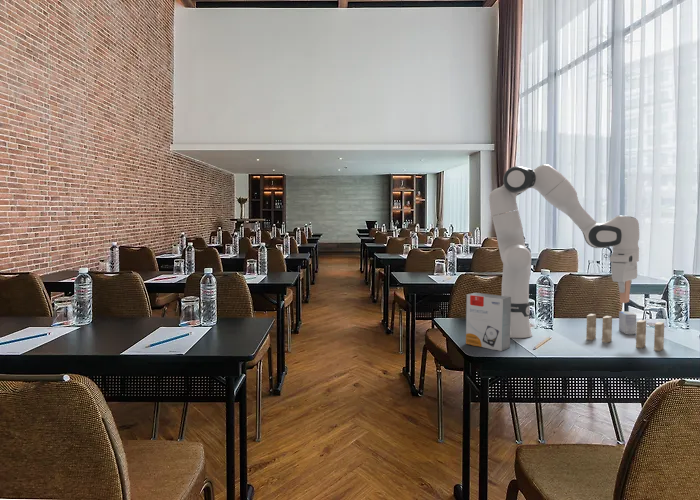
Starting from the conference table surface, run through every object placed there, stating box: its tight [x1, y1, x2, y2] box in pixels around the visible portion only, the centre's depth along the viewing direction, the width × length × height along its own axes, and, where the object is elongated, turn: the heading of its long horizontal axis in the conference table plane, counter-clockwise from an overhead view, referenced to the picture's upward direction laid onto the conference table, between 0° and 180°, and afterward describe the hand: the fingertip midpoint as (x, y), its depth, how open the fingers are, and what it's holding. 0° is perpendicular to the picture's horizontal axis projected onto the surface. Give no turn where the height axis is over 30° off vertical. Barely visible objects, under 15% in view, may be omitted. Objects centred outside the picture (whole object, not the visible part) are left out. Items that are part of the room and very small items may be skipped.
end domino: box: [653, 321, 665, 352], centre depth 177 cm, size 2×5×10 cm, turn 135°
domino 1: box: [585, 313, 597, 341], centre depth 194 cm, size 2×5×10 cm, turn 135°
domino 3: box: [619, 280, 631, 304], centre depth 185 cm, size 2×5×10 cm, turn 134°
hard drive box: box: [465, 292, 511, 352], centre depth 183 cm, size 16×8×20 cm, turn 46°
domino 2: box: [601, 315, 613, 343], centre depth 190 cm, size 2×5×10 cm, turn 135°
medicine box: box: [618, 310, 637, 335], centre depth 206 cm, size 8×4×9 cm, turn 168°
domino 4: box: [635, 319, 647, 349], centre depth 182 cm, size 2×5×10 cm, turn 135°
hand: (624, 291), depth 185 cm, fingers closed on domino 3, 5 cm apart
